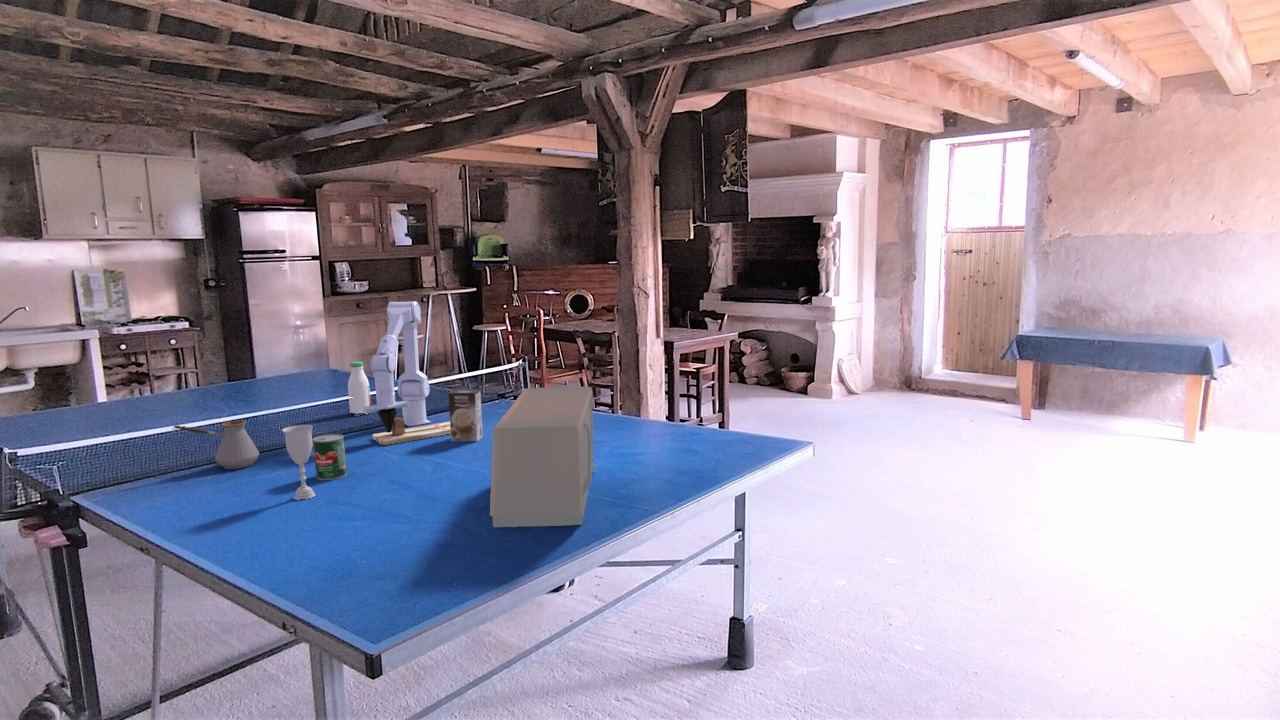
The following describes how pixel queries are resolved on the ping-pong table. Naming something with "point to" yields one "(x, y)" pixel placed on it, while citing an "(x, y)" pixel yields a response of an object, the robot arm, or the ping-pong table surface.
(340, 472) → the canned tomato
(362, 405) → the milk bottle
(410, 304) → the robot arm
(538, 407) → the vintage radio
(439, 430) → the fader panel
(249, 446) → the coffee pot
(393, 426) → the fader knob
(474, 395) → the coffee box
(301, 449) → the chalice
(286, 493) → the ping-pong table surface
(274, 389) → the ping-pong table surface
